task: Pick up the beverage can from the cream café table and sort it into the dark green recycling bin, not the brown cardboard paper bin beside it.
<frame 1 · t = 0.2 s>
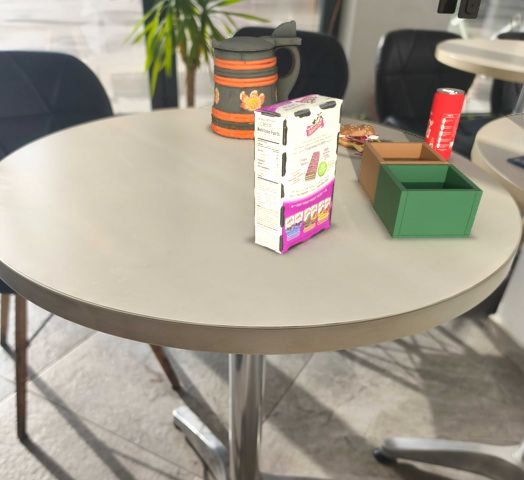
hand: (455, 15, 86), 22 cm above the table, tool pointing down, fingers open, 9 cm apart
paper bin: (396, 195, 79), on the table
recycling bin: (417, 224, 71), on the table
beverage can: (434, 161, 94), on the table
hamburger: (358, 150, 98), on the table
candy bar box: (292, 237, 67), on the table
beer stein: (254, 130, 108), on the table
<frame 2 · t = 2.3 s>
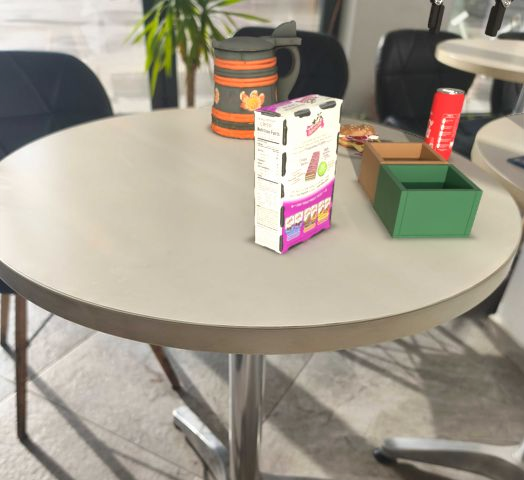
hand: (461, 34, 82), 20 cm above the table, tool pointing down, fingers open, 9 cm apart
nothing on the table moved.
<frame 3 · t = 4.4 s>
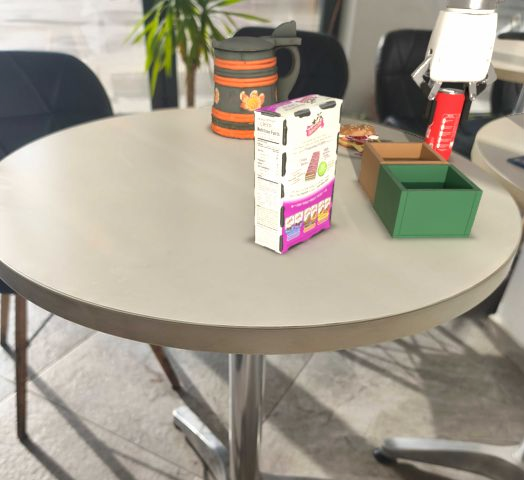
hand: (443, 122, 89), 7 cm above the table, tool pointing down, fingers closed on beverage can, 5 cm apart
beverage can: (434, 161, 94), on the table, touching gripper
everything else where it was.
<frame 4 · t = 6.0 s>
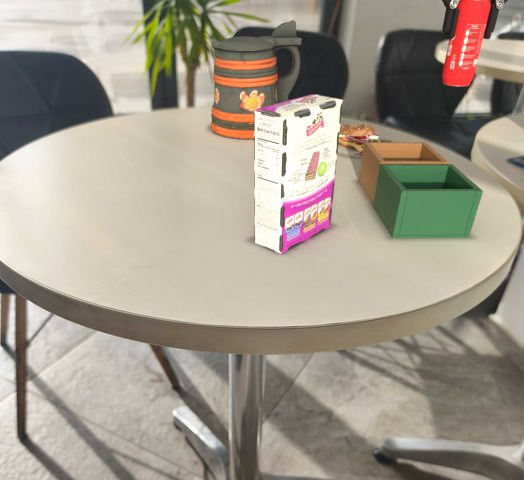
hand: (466, 36, 80), 20 cm above the table, tool pointing down, fingers closed on beverage can, 5 cm apart
beverage can: (455, 85, 85), point 13 cm above the table, touching gripper
everything else where it was.
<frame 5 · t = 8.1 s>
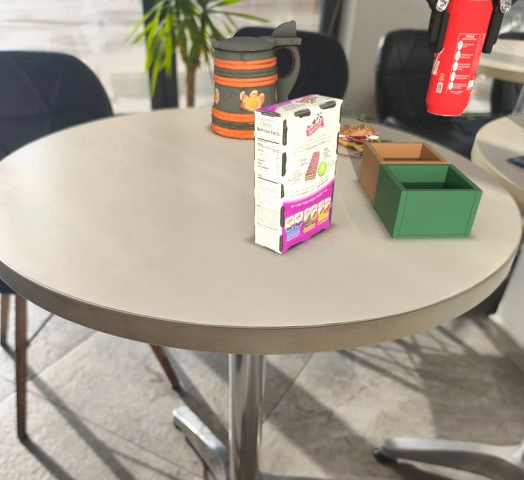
hand: (458, 49, 59), 21 cm above the table, tool pointing down, fingers closed on beverage can, 5 cm apart
beverage can: (443, 113, 64), point 14 cm above the table, touching gripper
everything else where it was.
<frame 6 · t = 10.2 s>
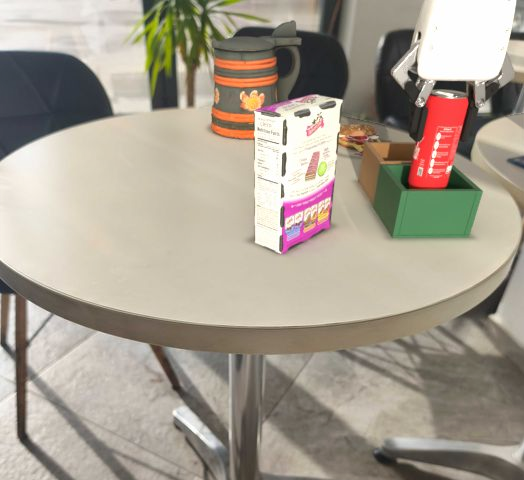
hand: (437, 137, 63), 12 cm above the table, tool pointing down, fingers closed on beverage can, 5 cm apart
beverage can: (425, 191, 68), point 5 cm above the table, touching gripper
everything else where it was.
when the fingers open (8 cm above the table, at t = 11.8 s): beverage can stays where it is, resting on recycling bin.
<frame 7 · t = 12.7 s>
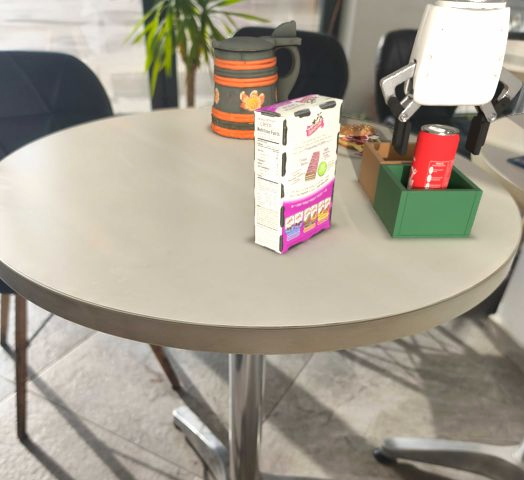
hand: (435, 152, 64), 10 cm above the table, tool pointing down, fingers open, 9 cm apart
beverage can: (419, 220, 70), point 1 cm above the table, touching recycling bin
everything else where it was.
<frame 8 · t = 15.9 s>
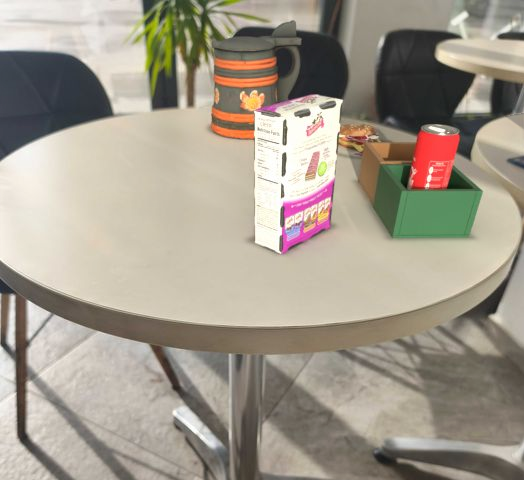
nothing on the table moved.
at the end: beverage can inside the target area in the recycling bin (0.1 cm from its centre), point 0.6 cm above the recycling bin's base; beverage can tilted 0°; the gripper is holding nothing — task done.
